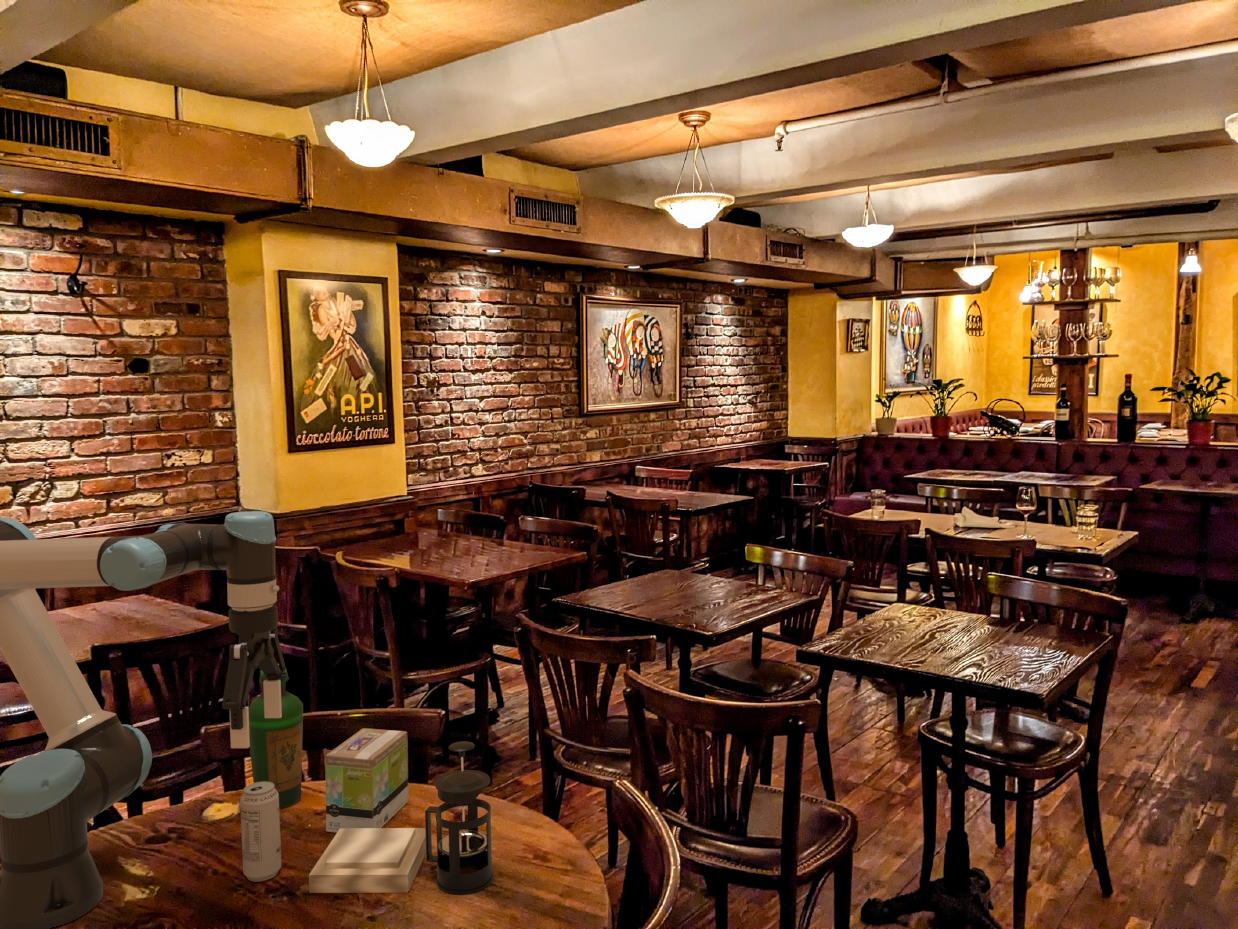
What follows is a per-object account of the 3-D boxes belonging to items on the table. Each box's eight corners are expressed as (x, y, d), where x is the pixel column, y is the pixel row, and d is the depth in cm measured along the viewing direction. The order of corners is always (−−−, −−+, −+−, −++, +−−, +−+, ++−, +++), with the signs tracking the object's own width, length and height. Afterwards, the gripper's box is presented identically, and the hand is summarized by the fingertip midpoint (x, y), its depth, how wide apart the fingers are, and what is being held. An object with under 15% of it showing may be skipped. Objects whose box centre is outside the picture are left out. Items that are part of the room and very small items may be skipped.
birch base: (309, 892, 149) (308, 869, 149) (340, 844, 165) (339, 823, 165) (408, 892, 149) (407, 868, 149) (429, 844, 165) (429, 822, 165)
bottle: (296, 813, 178) (291, 670, 176) (241, 813, 178) (234, 671, 176) (314, 789, 189) (309, 654, 187) (262, 790, 189) (256, 655, 187)
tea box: (375, 838, 168) (372, 758, 167) (324, 833, 170) (322, 755, 169) (410, 802, 183) (408, 729, 182) (363, 798, 185) (360, 726, 184)
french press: (504, 868, 157) (502, 735, 155) (486, 898, 147) (483, 757, 146) (439, 862, 159) (435, 731, 157) (417, 891, 150) (413, 752, 148)
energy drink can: (287, 873, 156) (284, 787, 154) (252, 887, 151) (248, 798, 150) (272, 861, 160) (268, 776, 159) (237, 874, 156) (233, 787, 155)
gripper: (244, 624, 140) (249, 761, 141) (302, 589, 165) (306, 706, 166) (194, 624, 140) (200, 761, 141) (260, 589, 165) (264, 706, 166)
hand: (257, 732), depth 154 cm, fingers open, 13 cm apart
